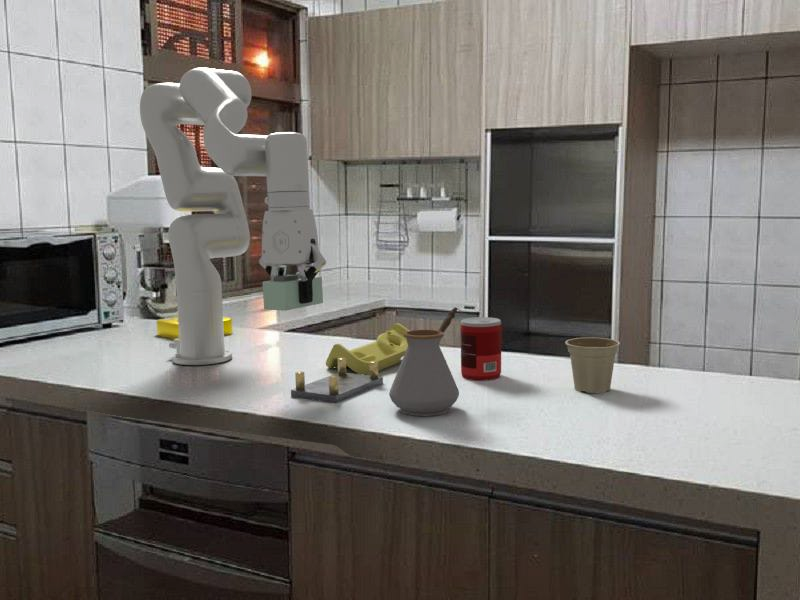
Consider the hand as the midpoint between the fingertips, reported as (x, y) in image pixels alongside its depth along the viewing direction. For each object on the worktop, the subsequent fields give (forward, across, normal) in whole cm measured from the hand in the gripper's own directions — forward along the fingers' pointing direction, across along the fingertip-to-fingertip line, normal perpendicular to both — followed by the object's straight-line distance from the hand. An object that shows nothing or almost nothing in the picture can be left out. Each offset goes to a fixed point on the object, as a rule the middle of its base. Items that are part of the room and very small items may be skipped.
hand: (293, 301), depth 145 cm
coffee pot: (+17, +28, +2) cm, 33 cm away
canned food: (+17, +27, +23) cm, 39 cm away
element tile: (+15, -60, +34) cm, 71 cm away
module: (+1, 0, 0) cm, 1 cm away
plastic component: (+16, +3, +23) cm, 28 cm away
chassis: (+16, +8, +2) cm, 18 cm away
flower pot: (+17, +49, +22) cm, 56 cm away
